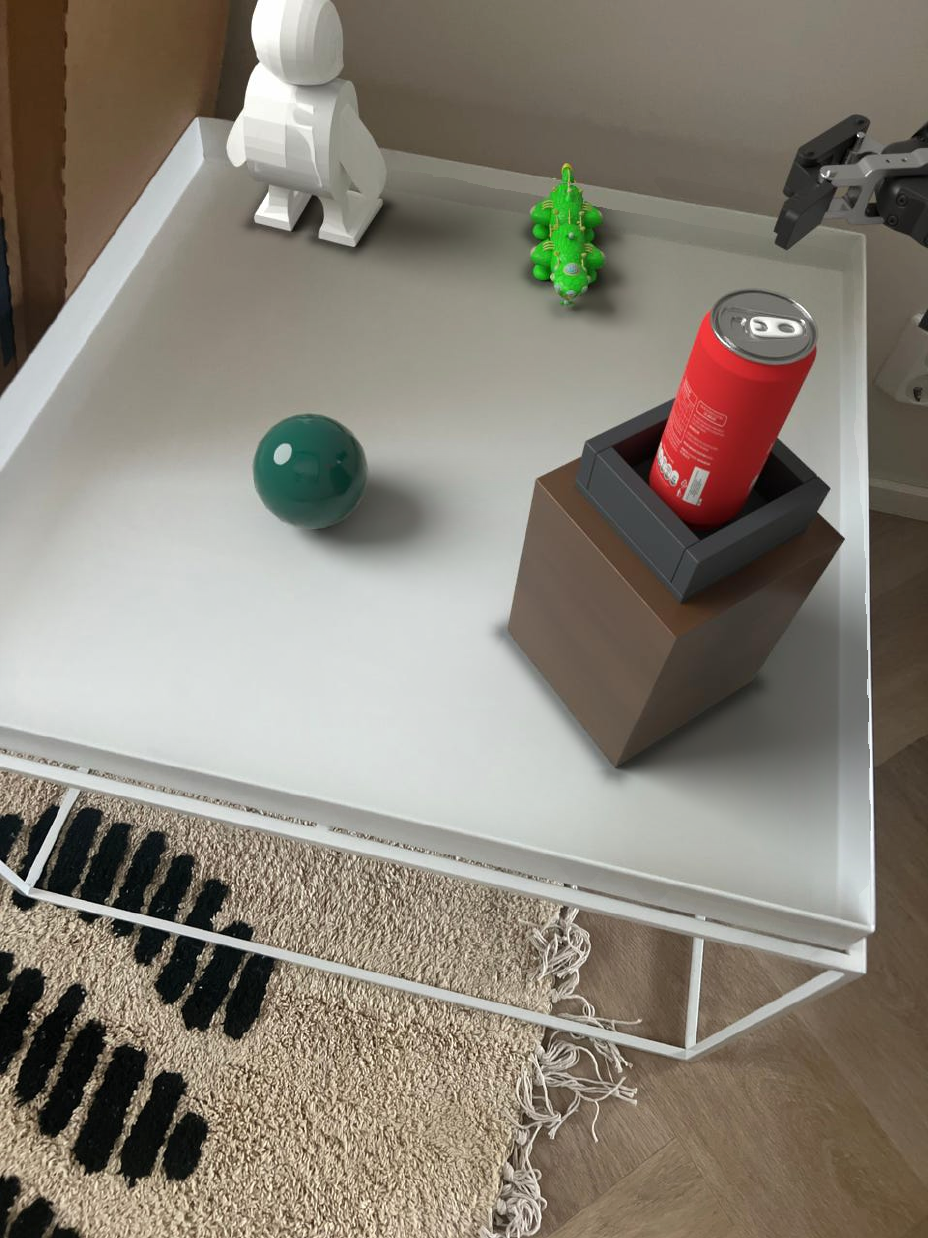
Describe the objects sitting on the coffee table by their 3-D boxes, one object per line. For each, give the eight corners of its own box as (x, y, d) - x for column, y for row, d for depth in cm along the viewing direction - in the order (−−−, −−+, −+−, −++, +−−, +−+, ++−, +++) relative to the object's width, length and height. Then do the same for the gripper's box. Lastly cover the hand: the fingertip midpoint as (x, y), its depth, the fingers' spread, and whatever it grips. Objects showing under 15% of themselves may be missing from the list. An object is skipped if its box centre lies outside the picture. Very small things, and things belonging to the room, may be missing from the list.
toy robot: (401, 208, 91) (403, -26, 74) (369, 268, 86) (363, 32, 69) (261, 174, 92) (231, -64, 75) (222, 231, 87) (180, -9, 70)
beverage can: (641, 459, 54) (699, 279, 44) (734, 465, 54) (814, 288, 44) (647, 534, 51) (711, 361, 41) (746, 541, 51) (833, 370, 41)
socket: (697, 423, 56) (714, 377, 53) (806, 531, 53) (831, 488, 50) (573, 485, 53) (584, 440, 50) (680, 604, 50) (698, 563, 47)
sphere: (256, 552, 69) (241, 478, 62) (262, 465, 73) (249, 387, 67) (369, 551, 70) (367, 478, 63) (369, 465, 74) (367, 388, 67)
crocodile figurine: (527, 319, 84) (533, 278, 80) (527, 190, 93) (532, 148, 90) (604, 325, 84) (614, 284, 80) (596, 195, 93) (604, 153, 90)
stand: (641, 556, 71) (700, 397, 57) (753, 680, 66) (846, 538, 53) (506, 630, 67) (535, 478, 53) (614, 768, 62) (676, 639, 48)
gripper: (922, 26, 55) (762, 138, 48) (1167, 138, 50) (1028, 281, 43) (867, 151, 61) (719, 266, 54) (1080, 261, 56) (947, 403, 50)
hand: (856, 273), depth 49 cm, fingers open, 8 cm apart
